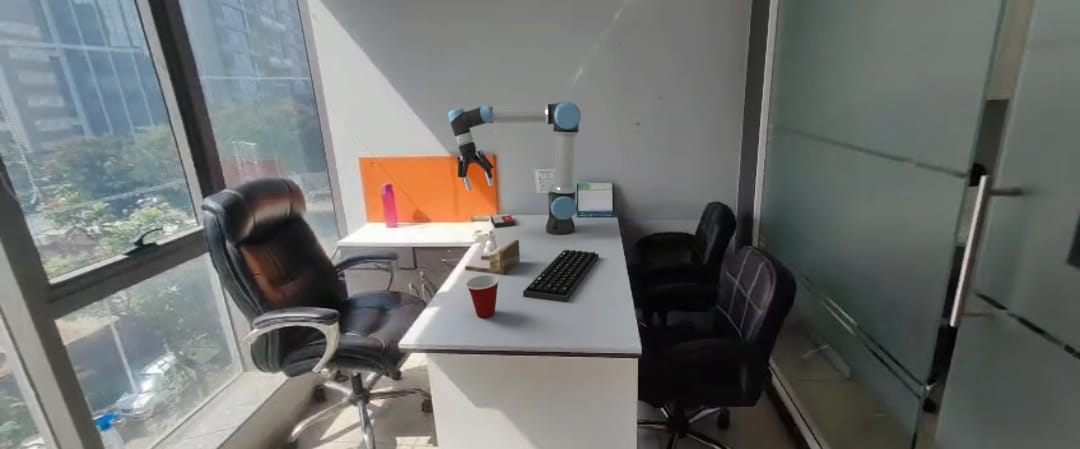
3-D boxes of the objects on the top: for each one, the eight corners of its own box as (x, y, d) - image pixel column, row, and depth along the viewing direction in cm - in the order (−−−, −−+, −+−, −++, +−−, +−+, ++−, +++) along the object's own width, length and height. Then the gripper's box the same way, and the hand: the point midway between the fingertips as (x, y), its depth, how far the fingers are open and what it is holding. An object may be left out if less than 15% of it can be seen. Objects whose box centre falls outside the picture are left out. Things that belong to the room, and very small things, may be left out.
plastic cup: (469, 308, 153) (466, 274, 150) (501, 305, 154) (499, 272, 151) (467, 323, 143) (463, 288, 139) (501, 320, 143) (499, 285, 140)
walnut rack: (464, 270, 187) (462, 247, 184) (482, 258, 200) (481, 236, 198) (504, 275, 180) (502, 251, 177) (519, 262, 193) (518, 240, 191)
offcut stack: (489, 272, 184) (488, 254, 182) (500, 263, 194) (498, 246, 192) (501, 273, 183) (500, 255, 181) (510, 264, 192) (509, 247, 190)
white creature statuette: (498, 260, 197) (497, 233, 194) (480, 259, 199) (478, 233, 196) (505, 253, 206) (503, 227, 203) (487, 252, 208) (485, 227, 204)
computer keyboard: (563, 256, 201) (563, 248, 200) (598, 259, 195) (598, 251, 194) (523, 298, 160) (522, 288, 159) (566, 304, 155) (566, 293, 154)
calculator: (494, 222, 245) (490, 214, 259) (495, 229, 246) (490, 221, 260) (514, 220, 248) (509, 212, 261) (515, 227, 249) (509, 219, 263)
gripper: (441, 150, 212) (456, 194, 217) (481, 138, 198) (496, 185, 203) (451, 147, 218) (466, 189, 223) (491, 135, 204) (505, 180, 209)
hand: (480, 187), depth 213 cm, fingers open, 13 cm apart
